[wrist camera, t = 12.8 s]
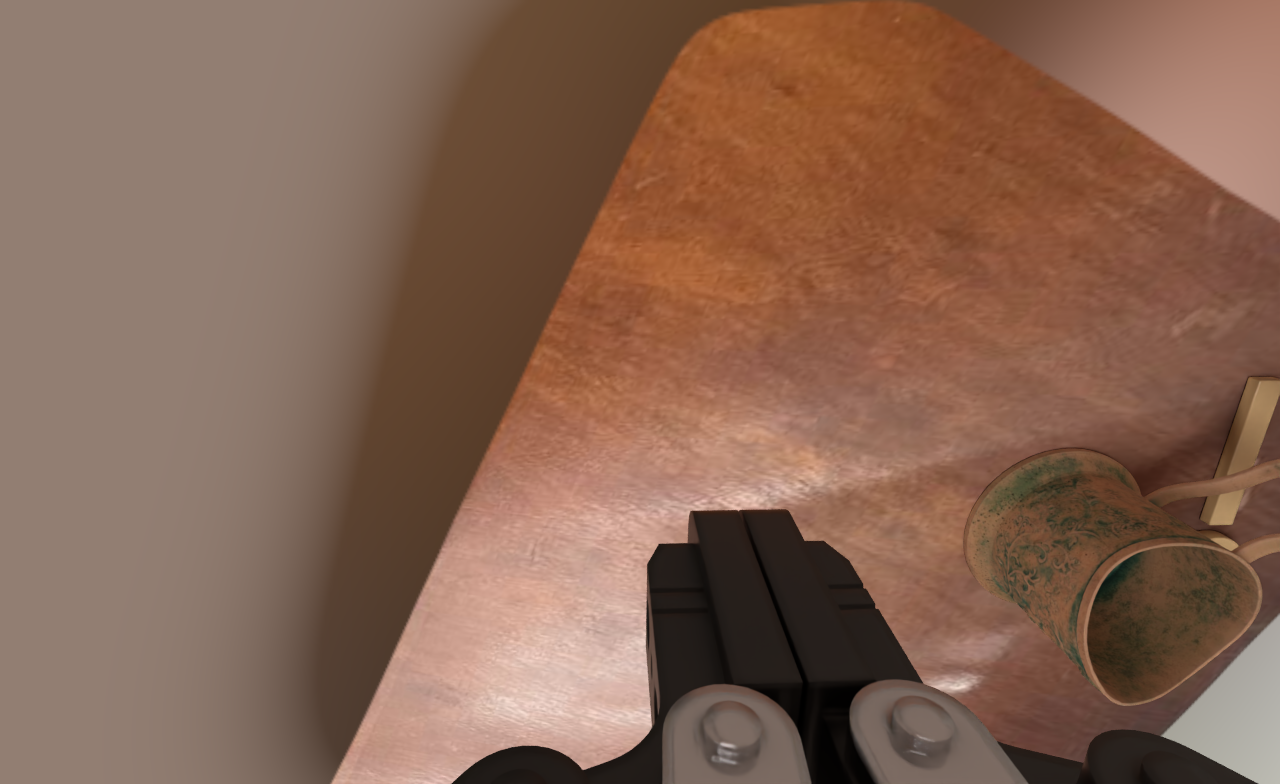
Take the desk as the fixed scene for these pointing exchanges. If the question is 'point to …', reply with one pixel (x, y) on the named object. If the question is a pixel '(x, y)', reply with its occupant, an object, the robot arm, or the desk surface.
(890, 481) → the desk surface
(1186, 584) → the mug
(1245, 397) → the spoon
